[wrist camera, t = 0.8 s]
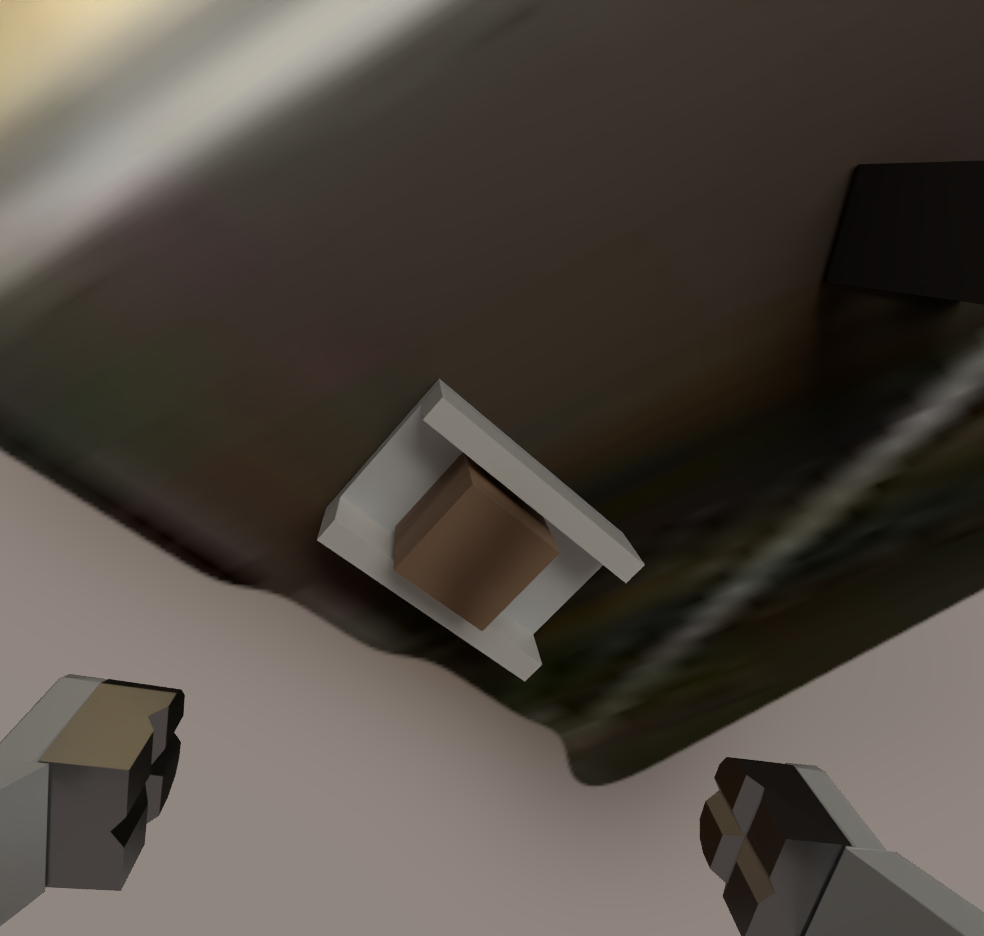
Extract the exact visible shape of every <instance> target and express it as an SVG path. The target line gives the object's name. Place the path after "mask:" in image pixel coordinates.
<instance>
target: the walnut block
mask: <svg viewBox="0 0 984 936" xmlns="http://www.w3.org/2000/svg"><path fill="white" fill-rule="evenodd" d="M559 553H560V552H559V550H558V548H557V546H556V543H555V541H554V539H553V537H552V535H551V532H550V530H549V528H548V526H547V524H546V521H545V519H544V517H543V516H542V515H541V514H539V513H538V512H537V511H536V510H534V509H533V508H532V507H531V506H529V505H528V504H527V503H526V502H524V501H523V500H522V499H521V498H519V497H518V496H517V495H516V494H514V493H513V492H512V491H511V490H510V489H508V488H507V487H506V486H505V485H503V484H502V483H501V482H500V481H498V480H497V479H496V478H495V477H493V476H492V475H491V474H490V473H488V472H487V471H486V470H485V469H483V468H482V467H481V466H480V465H478V464H477V463H476V462H475V461H473V460H472V459H471V458H470V457H469V456H467V455H466V454H465V453H464V452H462V454H461V455H460V456H459V457H458V458H457V459H456V460H455V461H454V462H453V463H452V465H451V466H450V467H449V468H448V469H447V470H446V471H445V472H444V473H443V474H442V476H441V477H440V478H439V479H438V480H437V481H436V482H435V483H434V484H433V485H432V487H431V488H430V489H429V490H428V491H427V492H426V493H425V494H424V495H423V496H422V498H421V499H420V500H419V501H418V502H417V503H416V504H415V505H414V506H413V507H412V509H411V510H410V511H409V512H408V513H407V514H406V515H405V516H404V517H403V518H402V520H401V521H400V522H399V523H398V524H397V525H396V526H395V548H394V571H396V572H397V573H398V574H400V575H401V576H403V577H404V578H406V579H407V580H409V581H410V582H411V583H413V584H414V585H416V586H417V587H419V588H420V589H421V590H423V591H424V592H426V593H427V594H429V595H430V596H432V597H433V598H434V599H436V600H437V601H439V602H440V603H442V604H443V605H445V606H446V607H447V608H449V609H450V610H452V611H453V612H455V613H456V614H458V615H459V616H460V617H462V618H463V619H465V620H466V621H468V622H469V623H471V624H472V625H473V626H475V627H476V628H478V629H479V630H481V631H483V630H484V629H485V628H486V627H487V626H488V625H489V624H490V623H491V622H492V621H493V620H494V619H495V618H496V617H497V616H498V615H499V614H500V613H501V612H502V611H503V610H504V609H505V608H506V607H507V606H508V605H509V604H510V603H511V602H512V601H513V600H514V599H515V598H516V597H517V596H518V595H519V594H520V593H521V592H522V591H523V590H524V589H525V588H526V587H527V586H528V585H529V584H530V583H531V582H532V581H533V580H534V579H535V578H536V577H537V576H538V575H539V574H540V573H541V572H542V571H543V570H544V569H545V568H546V567H547V566H548V565H549V564H550V563H551V562H552V561H553V560H554V559H555V557H556V556H557V555H558V554H559Z"/></svg>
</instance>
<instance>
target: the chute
mask: <svg viewBox="0 0 984 936" xmlns="http://www.w3.org/2000/svg"><path fill="white" fill-rule="evenodd" d="M462 452H464V453H465V454H466V455H467V456H469V457H470V458H471V459H472V460H473V461H475V462H476V463H477V464H478V465H480V466H481V467H482V468H483V469H485V470H486V471H487V472H488V473H490V474H491V475H492V476H493V477H495V478H496V479H497V480H498V481H500V482H501V483H502V484H503V485H505V486H506V487H507V488H508V489H510V490H511V491H512V492H513V493H514V494H516V495H517V496H518V497H519V498H521V499H522V500H523V501H524V502H526V503H527V504H528V505H529V506H531V507H532V508H533V509H534V510H536V511H537V512H538V513H539V514H541V515H542V516H543V517H544V519H545V521H546V524H547V526H548V528H549V530H550V532H551V535H552V537H553V539H554V541H555V543H556V546H557V548H558V550H559V552H560V553H559V554H558V555H557V556H556V557H555V559H554V560H553V561H552V562H551V563H550V564H549V565H548V566H547V567H546V568H545V569H544V570H543V571H542V572H541V573H540V574H539V575H538V576H537V577H536V578H535V579H534V580H533V581H532V582H531V583H530V584H529V585H528V586H527V587H526V588H525V589H524V590H523V591H522V592H521V593H520V594H519V595H518V596H517V597H516V598H515V599H514V600H513V601H512V602H511V603H510V604H509V605H508V606H507V607H506V608H505V609H504V610H503V611H502V612H501V613H500V614H499V615H498V616H497V617H496V618H495V619H494V620H493V621H492V622H491V623H490V624H489V625H488V626H487V627H486V628H485V629H484V630H483V631H481V630H479V629H478V628H476V627H475V626H473V625H472V624H471V623H469V622H468V621H466V620H465V619H463V618H462V617H460V616H459V615H458V614H456V613H455V612H453V611H452V610H450V609H449V608H447V607H446V606H445V605H443V604H442V603H440V602H439V601H437V600H436V599H434V598H433V597H432V596H430V595H429V594H427V593H426V592H424V591H423V590H421V589H420V588H419V587H417V586H416V585H414V584H413V583H411V582H410V581H409V580H407V579H406V578H404V577H403V576H401V575H400V574H398V573H397V572H396V571H394V548H395V526H396V525H397V524H398V523H399V522H400V521H401V520H402V518H403V517H404V516H405V515H406V514H407V513H408V512H409V511H410V510H411V509H412V507H413V506H414V505H415V504H416V503H417V502H418V501H419V500H420V499H421V498H422V496H423V495H424V494H425V493H426V492H427V491H428V490H429V489H430V488H431V487H432V485H433V484H434V483H435V482H436V481H437V480H438V479H439V478H440V477H441V476H442V474H443V473H444V472H445V471H446V470H447V469H448V468H449V467H450V466H451V465H452V463H453V462H454V461H455V460H456V459H457V458H458V457H459V456H460V455H461V454H462ZM317 541H319V542H320V543H322V544H323V545H325V546H326V547H328V548H329V549H331V550H332V551H334V552H335V553H337V554H338V555H340V556H341V557H342V558H344V559H345V560H347V561H348V562H350V563H351V564H353V565H354V566H356V567H357V568H359V569H360V570H362V571H363V572H365V573H366V574H367V575H369V576H370V577H372V578H373V579H375V580H376V581H378V582H379V583H381V584H382V585H384V586H385V587H387V588H388V589H390V590H391V591H393V592H394V593H395V594H397V595H398V596H400V597H401V598H403V599H404V600H406V601H407V602H409V603H410V604H412V605H413V606H415V607H416V608H418V609H419V610H420V611H422V612H423V613H425V614H426V615H428V616H429V617H431V618H432V619H434V620H435V621H437V622H438V623H440V624H441V625H443V626H444V627H445V628H447V629H448V630H450V631H451V632H453V633H454V634H456V635H457V636H459V637H460V638H462V639H463V640H465V641H466V642H468V643H469V644H471V645H472V646H473V647H475V648H476V649H478V650H479V651H481V652H482V653H484V654H485V655H487V656H488V657H490V658H491V659H493V660H494V661H496V662H497V663H498V664H500V665H501V666H503V667H504V668H506V669H507V670H509V671H510V672H512V673H513V674H515V675H516V676H518V677H519V678H521V679H522V680H523V681H526V680H527V679H528V678H529V677H530V676H531V675H532V674H533V673H534V672H535V671H536V670H537V669H538V668H539V667H540V666H541V665H542V663H541V660H540V656H539V653H538V650H537V646H536V643H535V639H534V636H533V634H534V633H535V632H536V631H537V630H538V629H539V628H540V627H541V626H542V625H543V624H544V623H545V622H546V621H547V620H548V619H549V618H550V617H551V616H552V615H553V614H554V613H555V612H556V611H557V610H558V609H559V608H560V607H561V606H562V605H563V604H564V603H565V602H566V601H567V600H568V599H569V598H570V597H571V596H572V595H573V594H574V593H575V592H576V591H577V590H578V589H579V588H580V587H581V586H582V585H583V584H584V583H585V582H587V581H588V580H589V579H590V578H591V577H592V576H593V575H594V574H595V573H596V572H597V571H598V570H599V569H600V568H601V567H602V566H603V565H604V566H605V567H606V568H608V569H609V570H610V571H611V572H613V573H614V574H615V575H616V576H618V577H619V578H620V579H621V580H623V581H624V582H625V583H627V582H628V581H629V580H630V579H631V578H632V577H633V576H634V575H635V574H636V573H637V572H638V571H639V570H640V569H641V568H642V567H643V566H644V563H643V562H642V560H641V559H640V557H639V556H638V554H637V553H636V551H635V550H634V548H633V547H632V546H631V544H630V543H629V541H628V540H627V538H626V537H625V535H624V534H623V533H622V532H621V531H620V530H619V529H618V528H616V527H615V526H614V525H613V524H612V523H610V522H609V521H608V520H607V519H606V518H604V517H603V516H602V515H601V514H600V513H598V512H597V511H596V510H595V509H594V508H593V507H591V506H590V505H589V504H588V503H587V502H585V501H584V500H583V499H582V498H581V497H579V496H578V495H577V494H576V493H575V492H573V491H572V490H571V489H570V488H569V487H568V486H566V485H565V484H564V483H563V482H562V481H560V480H559V479H558V478H557V477H556V476H554V475H553V474H552V473H551V472H550V471H549V470H547V469H546V468H545V467H544V466H543V465H541V464H540V463H539V462H538V461H537V460H535V459H534V458H533V457H532V456H531V455H529V454H528V453H527V452H526V451H525V450H524V449H522V448H521V447H520V446H519V445H518V444H516V443H515V442H514V441H513V440H512V439H510V438H509V437H508V436H507V435H506V434H504V433H503V432H502V431H501V430H500V429H499V428H497V427H496V426H495V425H494V424H493V423H491V422H490V421H489V420H488V419H487V418H485V417H484V416H483V415H482V414H481V413H479V412H478V411H477V410H476V409H475V408H474V407H472V406H471V405H470V404H469V403H468V402H466V401H465V400H464V399H463V398H462V397H460V396H459V395H458V394H457V393H456V392H454V391H453V390H452V389H451V388H450V387H449V386H447V385H446V384H445V383H444V382H443V381H441V380H440V379H438V380H437V382H436V383H435V384H434V385H433V386H432V387H431V388H430V390H429V391H428V392H427V393H426V394H425V395H424V396H423V398H422V399H421V400H420V401H419V402H418V403H417V405H416V406H415V407H414V408H413V409H412V410H411V411H410V413H409V414H408V415H407V416H406V417H405V418H404V419H403V421H402V422H401V423H400V424H399V425H398V426H397V427H396V429H395V430H394V431H393V432H392V433H391V434H390V435H389V437H388V438H387V439H386V440H385V441H384V442H383V443H382V445H381V446H380V447H379V448H378V449H377V450H376V452H375V453H374V454H373V455H372V456H371V457H370V458H369V460H368V461H367V462H366V463H365V464H364V465H363V466H362V468H361V469H360V470H359V471H358V472H357V473H356V474H355V476H354V477H353V478H352V479H351V480H350V481H349V482H348V484H347V485H346V486H345V487H344V488H343V489H342V490H341V492H340V493H339V494H338V495H337V496H336V497H335V499H334V500H333V501H332V502H331V503H330V504H329V505H328V507H327V508H326V510H325V514H324V517H323V521H322V524H321V527H320V531H319V534H318V538H317Z"/></svg>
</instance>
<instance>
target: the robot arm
mask: <svg viewBox="0 0 984 936" xmlns="http://www.w3.org/2000/svg"><path fill="white" fill-rule="evenodd" d="M184 698H185V695H184V693H183V691H182V690H180V689H173V688H167V687H159V686H153V685H146V684H139V683H132V682H125V681H118V680H112V679H108V680H106V679H102V678H95V677H87V676H80V675H72V674H69V675H66V676H64V677H62V678H60V679H59V680H58V681H57V682H56V683H55V684H54V685H53V686H52V687H51V688H50V689H49V690H48V691H47V692H46V694H45V695H44V696H43V697H42V698H41V699H40V700H39V701H38V702H37V703H36V704H35V705H34V707H33V708H32V709H31V710H30V711H29V712H28V713H27V714H26V715H25V716H24V718H22V719H21V721H20V722H19V723H18V724H17V725H16V726H15V727H14V728H13V729H12V730H11V731H10V732H9V734H8V735H7V736H6V737H5V738H4V739H3V740H2V741H1V742H0V926H1V925H2V924H3V923H5V922H6V921H7V920H9V919H10V918H11V917H13V916H14V915H15V914H17V913H18V912H19V911H20V910H22V909H23V908H24V907H25V906H27V905H28V904H29V903H31V902H32V901H33V900H34V899H36V898H37V897H38V896H40V895H41V894H42V893H44V892H45V887H56V888H57V887H58V888H76V889H96V890H116V891H121V889H122V887H123V885H124V883H125V881H126V879H127V877H128V875H129V873H130V872H131V870H132V868H133V866H134V864H135V862H136V860H137V858H138V856H139V854H140V852H141V850H142V848H143V846H144V843H145V832H146V824H147V823H148V822H150V821H151V820H153V819H154V818H156V817H158V816H159V814H160V812H161V810H162V808H163V806H164V804H165V802H166V800H167V798H168V795H169V792H170V789H171V786H172V783H173V781H174V778H175V774H176V770H177V765H178V760H179V754H180V745H181V742H180V740H179V739H178V737H177V736H176V734H175V733H174V731H175V730H176V728H177V726H178V724H179V722H180V720H181V719H182V717H183V713H184ZM714 778H715V781H716V783H717V786H718V788H719V791H717V792H716V793H715V794H714V795H712V796H711V797H710V798H708V799H707V800H706V801H705V804H704V807H703V811H702V814H701V817H700V841H701V845H702V850H703V854H704V856H705V858H706V860H707V862H708V865H709V867H710V869H711V870H712V871H713V872H715V873H716V874H717V875H718V876H719V877H720V878H721V879H722V880H723V881H724V882H725V883H726V885H725V889H724V893H723V898H724V900H725V902H726V904H727V906H728V908H729V911H730V913H731V915H732V917H733V919H734V921H735V923H736V926H737V928H738V930H739V932H740V934H741V936H984V912H983V911H981V910H980V909H978V908H977V907H975V906H974V905H973V904H971V903H970V902H968V901H966V900H965V899H964V898H962V897H961V896H960V895H958V894H957V893H955V892H954V891H952V890H951V889H949V888H948V887H947V886H945V885H944V884H942V883H941V882H939V881H938V880H936V879H935V878H934V877H932V876H931V875H929V874H928V873H926V872H925V871H923V870H922V869H920V868H919V867H917V866H916V865H915V864H913V863H912V862H910V861H909V860H908V859H906V858H905V857H903V856H902V855H900V854H899V853H897V852H891V851H887V850H886V849H885V848H884V846H883V845H882V843H881V842H880V841H879V840H878V838H877V837H876V836H875V834H874V833H873V832H872V831H871V829H870V828H869V827H868V826H867V824H866V823H865V822H864V820H863V819H862V818H861V817H860V815H859V814H858V813H857V812H856V810H855V809H854V808H853V806H852V805H851V804H850V803H849V801H848V800H847V799H846V798H845V796H844V795H843V794H842V793H841V791H840V790H839V789H838V787H837V786H836V785H835V784H834V782H833V781H832V780H831V779H830V777H829V776H828V775H827V773H826V772H825V771H823V770H822V769H820V768H818V767H817V766H813V765H802V764H792V763H785V764H781V763H773V762H764V761H756V760H747V759H738V758H730V757H726V758H725V759H724V760H723V761H722V762H721V763H720V765H719V767H718V770H717V772H716V775H715V777H714Z"/></svg>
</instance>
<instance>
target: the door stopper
mask: <svg viewBox="0 0 984 936" xmlns="http://www.w3.org/2000/svg"><path fill="white" fill-rule="evenodd" d="M824 282H827V283H834V284H842V285H849V286H856V287H863V288H870V289H877V290H884V291H891V292H899V293H906V294H913V295H920V296H927V297H934V298H941V299H948V300H956V301H963V302H970V303H977V304H984V161H956V162H923V163H891V164H859V165H858V166H857V169H856V173H855V176H854V180H853V183H852V186H851V190H850V193H849V197H848V200H847V204H846V207H845V211H844V214H843V218H842V221H841V225H840V228H839V232H838V235H837V239H836V242H835V246H834V249H833V253H832V256H831V260H830V263H829V267H828V270H827V274H826V277H825V281H824Z"/></svg>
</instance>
